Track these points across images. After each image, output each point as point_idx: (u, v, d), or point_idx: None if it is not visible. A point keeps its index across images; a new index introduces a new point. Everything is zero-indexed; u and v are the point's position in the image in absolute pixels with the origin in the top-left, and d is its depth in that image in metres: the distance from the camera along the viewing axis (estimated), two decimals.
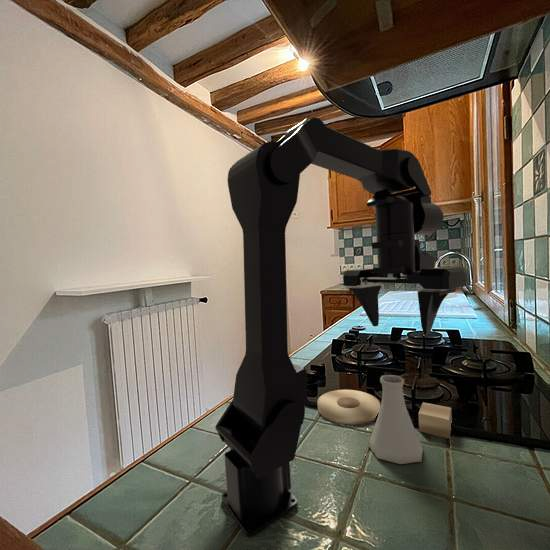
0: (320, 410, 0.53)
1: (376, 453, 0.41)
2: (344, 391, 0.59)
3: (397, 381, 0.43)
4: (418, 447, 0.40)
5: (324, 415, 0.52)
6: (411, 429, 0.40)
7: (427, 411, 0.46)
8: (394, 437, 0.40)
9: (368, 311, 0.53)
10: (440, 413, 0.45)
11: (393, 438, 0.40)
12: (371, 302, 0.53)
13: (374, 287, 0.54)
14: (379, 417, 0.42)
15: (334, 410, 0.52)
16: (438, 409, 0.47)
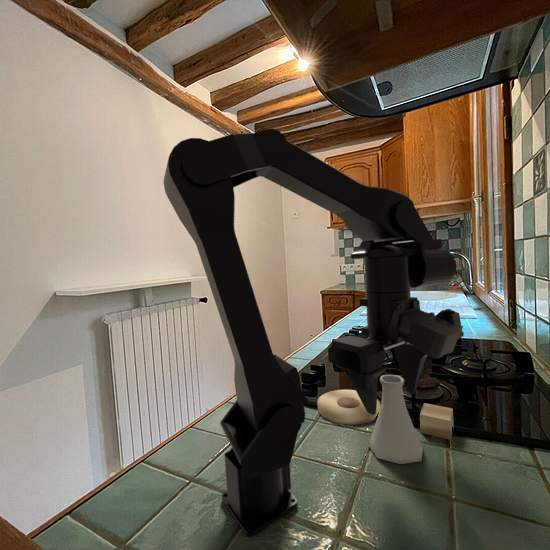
0: (320, 410, 0.53)
1: (376, 453, 0.41)
2: (344, 391, 0.59)
3: (397, 381, 0.43)
4: (418, 447, 0.40)
5: (324, 415, 0.52)
6: (411, 429, 0.40)
7: (429, 412, 0.46)
8: (394, 437, 0.40)
9: (401, 371, 0.46)
10: (442, 414, 0.45)
11: (393, 438, 0.40)
12: (406, 362, 0.45)
13: (417, 347, 0.44)
14: (379, 417, 0.42)
15: (334, 410, 0.52)
16: (439, 410, 0.46)
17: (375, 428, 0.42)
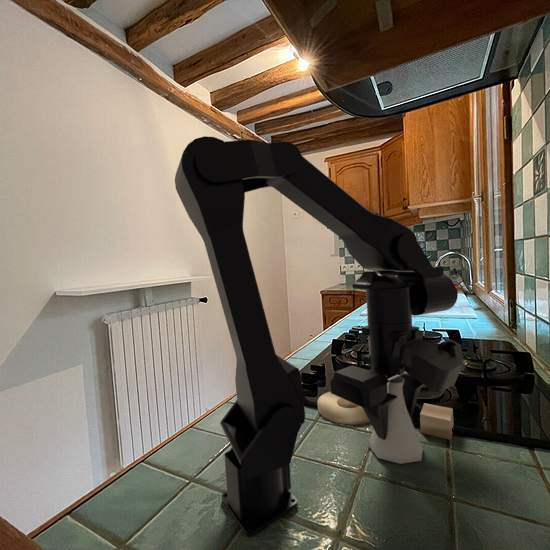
0: (320, 410, 0.53)
1: (376, 453, 0.41)
2: None
3: (397, 381, 0.43)
4: (418, 447, 0.40)
5: (324, 415, 0.52)
6: (411, 429, 0.40)
7: (429, 412, 0.46)
8: (394, 437, 0.40)
9: None
10: (442, 414, 0.45)
11: (393, 437, 0.40)
12: None
13: (412, 378, 0.43)
14: None
15: (334, 410, 0.52)
16: (440, 410, 0.46)
17: None
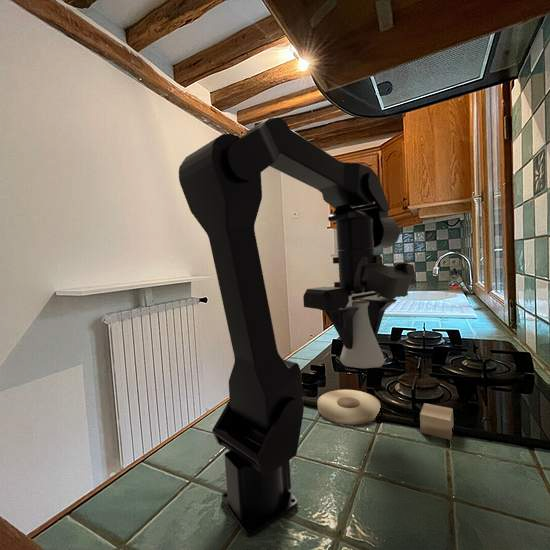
0: (320, 410, 0.53)
1: (344, 362, 0.48)
2: (344, 391, 0.59)
3: None
4: (379, 357, 0.47)
5: (324, 415, 0.52)
6: (374, 342, 0.47)
7: (429, 412, 0.46)
8: (358, 348, 0.47)
9: None
10: (442, 414, 0.45)
11: (358, 348, 0.47)
12: (368, 315, 0.51)
13: (376, 301, 0.50)
14: None
15: (334, 410, 0.52)
16: (440, 410, 0.46)
17: None
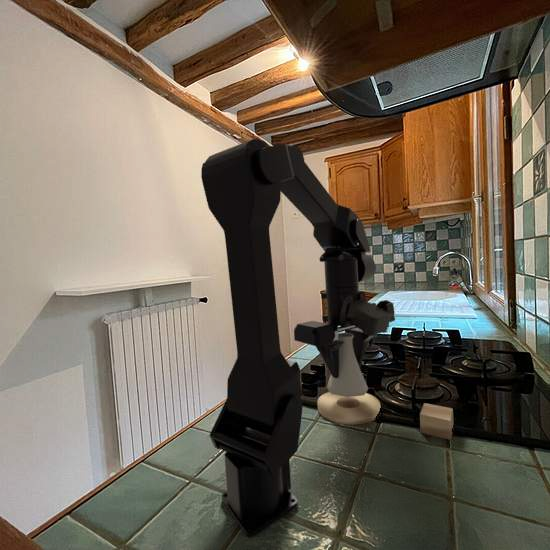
0: (320, 410, 0.53)
1: (331, 391, 0.52)
2: None
3: None
4: (363, 385, 0.52)
5: (324, 415, 0.52)
6: (358, 372, 0.52)
7: (429, 412, 0.46)
8: (344, 377, 0.52)
9: None
10: (442, 414, 0.45)
11: (343, 378, 0.52)
12: (353, 345, 0.56)
13: (361, 333, 0.55)
14: None
15: (334, 410, 0.52)
16: (440, 410, 0.46)
17: None
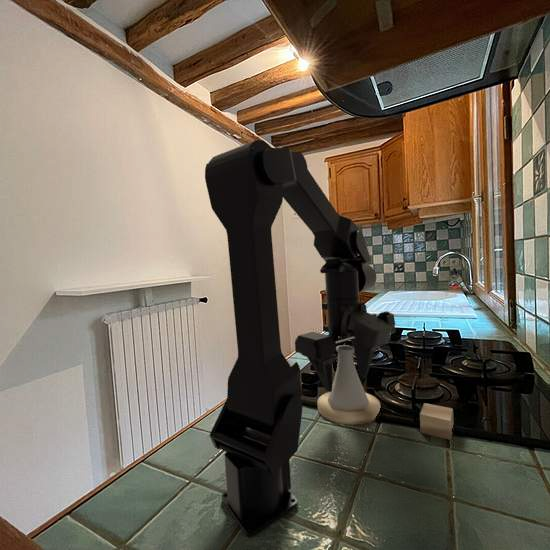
0: (320, 410, 0.53)
1: (332, 404, 0.53)
2: None
3: (350, 350, 0.55)
4: (363, 399, 0.52)
5: (324, 415, 0.52)
6: (358, 385, 0.52)
7: (429, 412, 0.46)
8: (344, 391, 0.52)
9: (357, 360, 0.58)
10: (442, 414, 0.45)
11: (344, 392, 0.52)
12: (360, 353, 0.57)
13: None
14: (335, 377, 0.54)
15: (334, 410, 0.52)
16: (440, 410, 0.46)
17: (332, 386, 0.54)
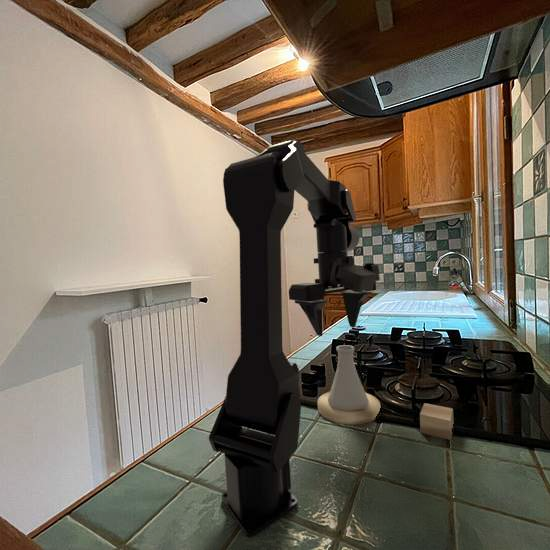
0: (320, 410, 0.53)
1: (332, 404, 0.53)
2: None
3: None
4: (363, 399, 0.52)
5: (324, 415, 0.52)
6: (358, 385, 0.52)
7: (429, 412, 0.46)
8: (344, 391, 0.52)
9: (346, 312, 0.63)
10: (442, 414, 0.45)
11: (344, 392, 0.52)
12: (349, 306, 0.62)
13: (356, 294, 0.61)
14: (335, 377, 0.54)
15: (334, 410, 0.52)
16: (440, 410, 0.46)
17: (332, 386, 0.54)
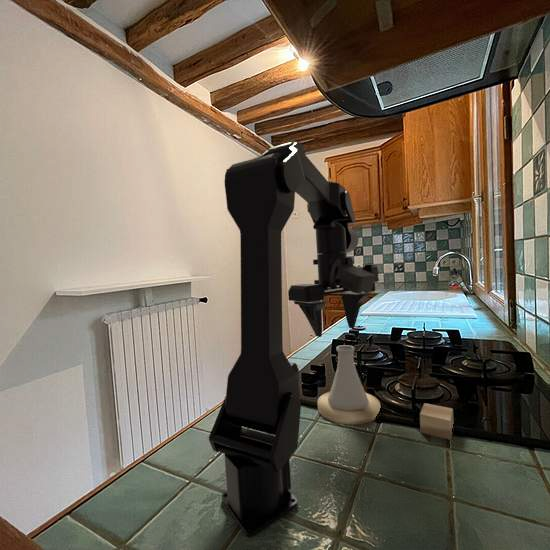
0: (320, 410, 0.53)
1: (332, 404, 0.53)
2: None
3: None
4: (363, 399, 0.52)
5: (324, 415, 0.52)
6: (358, 385, 0.52)
7: (429, 412, 0.46)
8: (344, 391, 0.52)
9: None
10: (442, 414, 0.45)
11: (344, 392, 0.52)
12: (348, 307, 0.63)
13: (355, 295, 0.61)
14: (335, 377, 0.54)
15: (334, 410, 0.52)
16: (440, 410, 0.46)
17: (332, 386, 0.54)
